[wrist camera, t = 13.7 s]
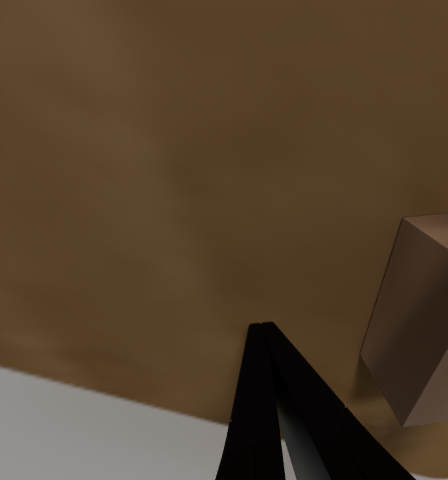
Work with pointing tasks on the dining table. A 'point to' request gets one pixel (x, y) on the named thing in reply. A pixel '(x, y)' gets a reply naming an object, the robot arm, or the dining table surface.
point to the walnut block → (413, 324)
